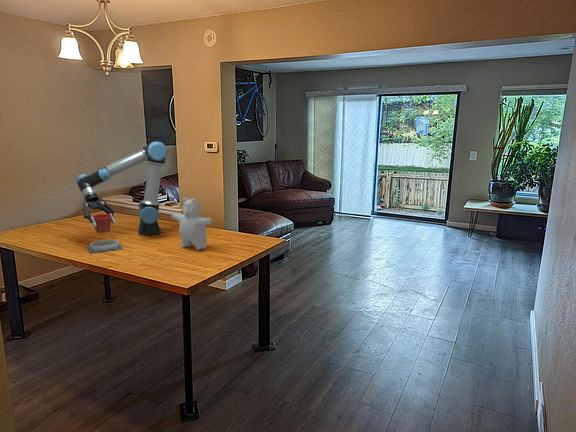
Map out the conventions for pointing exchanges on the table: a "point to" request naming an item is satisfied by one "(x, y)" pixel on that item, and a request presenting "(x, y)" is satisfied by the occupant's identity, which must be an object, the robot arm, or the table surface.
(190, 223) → the bear
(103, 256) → the table surface
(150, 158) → the robot arm
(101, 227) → the flower pot
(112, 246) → the grey octagonal tray
